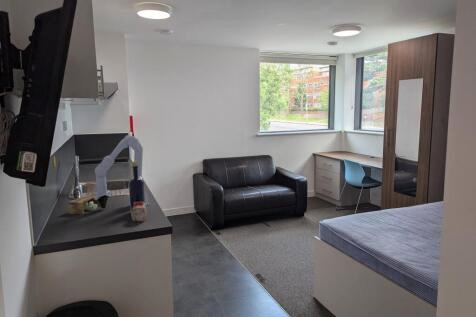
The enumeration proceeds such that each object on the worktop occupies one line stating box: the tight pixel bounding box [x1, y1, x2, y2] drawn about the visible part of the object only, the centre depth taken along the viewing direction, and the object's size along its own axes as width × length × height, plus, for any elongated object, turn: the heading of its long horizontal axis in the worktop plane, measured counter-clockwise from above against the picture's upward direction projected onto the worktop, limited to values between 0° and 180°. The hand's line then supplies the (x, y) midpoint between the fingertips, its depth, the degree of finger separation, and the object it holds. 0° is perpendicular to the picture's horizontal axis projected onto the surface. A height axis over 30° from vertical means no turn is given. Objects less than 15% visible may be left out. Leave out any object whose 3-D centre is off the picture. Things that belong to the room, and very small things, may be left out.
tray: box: [84, 201, 99, 211], centre depth 208 cm, size 9×5×4 cm, turn 81°
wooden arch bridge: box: [68, 193, 100, 215], centre depth 208 cm, size 9×19×7 cm, turn 170°
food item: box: [130, 201, 148, 223], centre depth 187 cm, size 14×8×10 cm, turn 15°
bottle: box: [128, 161, 145, 214], centre depth 198 cm, size 9×9×30 cm
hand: (103, 208), depth 206 cm, fingers closed
